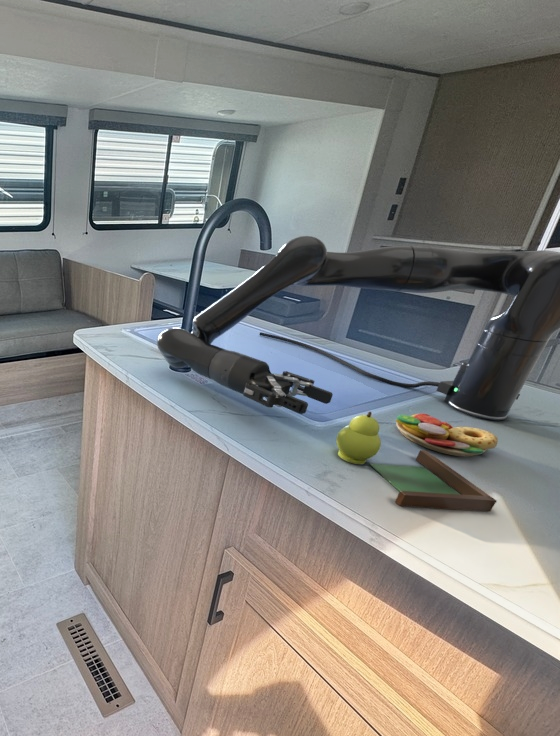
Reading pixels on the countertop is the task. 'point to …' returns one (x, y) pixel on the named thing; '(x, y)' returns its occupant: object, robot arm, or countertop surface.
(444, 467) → the corner fence
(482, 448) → the toy food set
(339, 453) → the pear
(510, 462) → the countertop surface
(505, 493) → the countertop surface
